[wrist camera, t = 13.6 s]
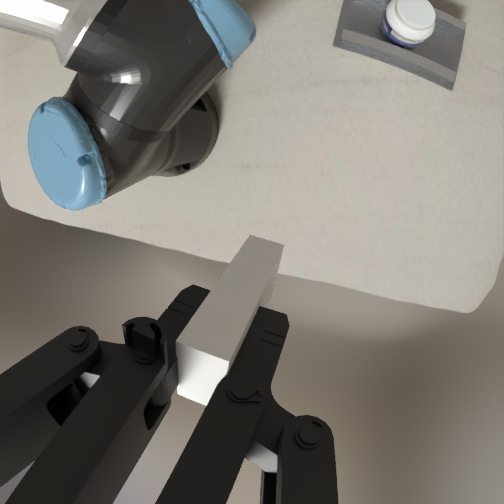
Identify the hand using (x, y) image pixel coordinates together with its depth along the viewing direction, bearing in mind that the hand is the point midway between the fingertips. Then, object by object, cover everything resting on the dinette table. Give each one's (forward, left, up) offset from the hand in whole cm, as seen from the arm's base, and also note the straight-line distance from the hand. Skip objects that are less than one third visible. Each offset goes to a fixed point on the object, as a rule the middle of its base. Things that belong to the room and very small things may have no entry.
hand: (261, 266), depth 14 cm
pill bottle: (+6, +20, -29) cm, 35 cm away
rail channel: (+6, +20, -29) cm, 36 cm away
